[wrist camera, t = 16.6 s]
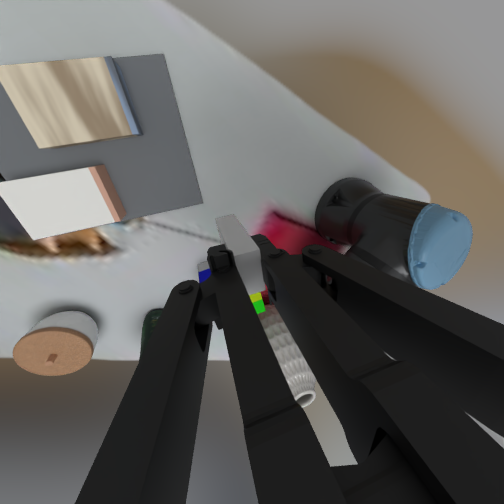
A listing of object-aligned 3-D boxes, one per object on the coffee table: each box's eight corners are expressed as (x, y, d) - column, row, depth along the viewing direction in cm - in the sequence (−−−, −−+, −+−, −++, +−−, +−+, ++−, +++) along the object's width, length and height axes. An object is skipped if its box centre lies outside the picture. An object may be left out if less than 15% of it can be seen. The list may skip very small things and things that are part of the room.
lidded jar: (43, 296, 38) (5, 336, 30) (110, 305, 43) (93, 342, 35) (38, 339, 41) (2, 385, 33) (101, 343, 46) (83, 385, 38)
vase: (221, 321, 53) (242, 419, 34) (268, 279, 51) (317, 357, 32) (259, 344, 61) (294, 434, 42) (301, 309, 59) (356, 385, 40)
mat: (163, 54, 29) (163, 53, 28) (202, 202, 39) (203, 203, 39) (-65, 74, 24) (-69, 73, 24) (47, 236, 34) (45, 237, 34)
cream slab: (94, 166, 28) (-9, 183, 26) (120, 220, 32) (33, 240, 30) (104, 164, 32) (14, 179, 30) (126, 213, 36) (48, 230, 34)
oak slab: (110, 56, 24) (-9, 66, 22) (138, 133, 28) (39, 148, 26) (119, 67, 28) (17, 77, 26) (143, 135, 32) (56, 148, 30)
